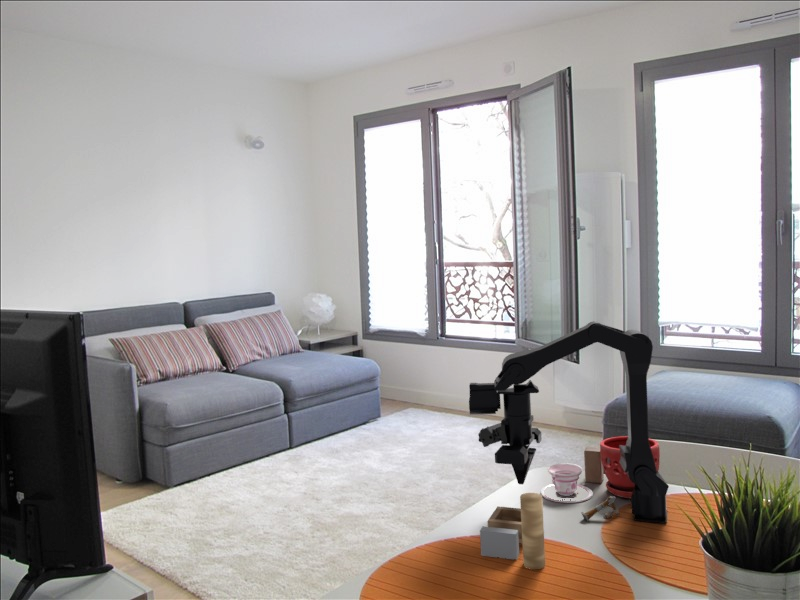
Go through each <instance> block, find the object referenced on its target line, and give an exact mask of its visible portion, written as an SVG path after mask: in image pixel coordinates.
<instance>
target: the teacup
mask: <svg viewBox="0 0 800 600" xmlns="http://www.w3.org/2000/svg"><path fill="white" fill-rule="evenodd" d="M547 472H548V473H549V475H551V478H552V484H549V485H546V486H544V487H542V488H541V490H540V495H542V498H544V499H545V500H548V501H552V502H556V503H563V504H564V503H565V504H572V503H573V504H574V503H576V504H577V503H581V502H585V501H588V500H590V499H591V498H592V497H593V495H594V492H593V491H592V489H590V488H589V487H587V486H584V485H582V484H578V480H579V479H580V476H581V474H582V473H583V467H582V466H580V465H579V464H576V463H567V462H563V463H556V464H552V465H550V466H549V467H548V468H547ZM551 486H554V489H555V490H556V491H558V492H557V493H558V494H559V496H562V495H563V496H562V497H571V496H573V495H574V494H575V493H576V492H575V491H577V489H578V487H581V488H583V489H585V490H586V491H587V492H588V493H589V494H588V496H587V497H586V498H584V499H582V500H577V501H576V500H575V501H571V499H570V501H563V499H562V501H561V500H560V501H559V500H554V499H551V498H549V497H547V496H546V495H545V493H544V490H545V489H546V488H547V487H551ZM577 486H578V487H577ZM570 495H571V496H570ZM564 500H565V499H564Z"/></svg>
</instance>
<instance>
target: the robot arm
mask: <svg viewBox="0 0 800 600" xmlns="http://www.w3.org/2000/svg"><path fill="white" fill-rule="evenodd" d="M595 343H599V344H602V345H604V346H607V347H610V348H612V349H615V350H618V351H619V354H620V359H621V361H622V365H623V366H622V367H623V369H624V372H625V385H626V386H625V387H626V391H625V392H626V410H627V411H626V412H627V413H626V415H627V417H626V418H627V436H628V439H627V443H626V446H624V445H619V448H620V453H621V458H620V461H619V463H620V464H621V466H622V468H623V470H624V471H625V473H626V474H627V475H628V477H629V479H630V480H631V482H633V483H634V484H635V486H634V492H632V494H631V498H630V501H631V503H630V504H631V515H633V520H634V521H635V522H637V521H638V522H647V523H649V522H650V523H660V524H667V521H668V510H667V493H668V490H669V487H670V486H669V485H668V483H667V482H666V480H665V479H664V477H663V476H662V475H661V473H660V471H657V470H656V466H655V462H654V457H653V454H652V451H651V447H650V444H649V439H650V438H649V411H648V408H649V407H648V385H647V384H648V382H647V380H648V379H647V377H648V372H649V369H650V366H651V363H652V355H653V349H654V346H653V342H652V340H651V339H650V337H648V336H647V335H646V334H644V333H643V332H641V331H639V330H637V329H628V330H626V331H625V330H622V329H618V328H616V327H612V326H609V325H607V324H606V325H605V324H602V323H601V322H599V321H595V320H592V321H590V322H588V323H586V325H584V326H581V327H580V328H577V329H576V330H573V331H572V332H568V333H566V334H564V335H562V336H560V337H557V338H556V339H554V340H552V341H550V342H548V343H545V344H542V345H541V346H539V347H534V348H530V349H525V350H521V351H517V352H514V353H513V352H512V353H510V354H508V355H506V356H504V358H503V361H502V363H501V371H500V372H499V373H498V375H497V377H495V379H494V382H482V383H479V382H470V383H469V399H468V409H469V416H471V415H472V416H473V415H475V416H476V415H496V414H497V412H499V410H501V407H502V406H501V395H502V397H503V398H502V399H503V415H504V417H503V418H502V419H501V421H500V422H499V423H497V424H493V425H490V426H487V427H485V428H484V427H482V428H481V429H480V430H479V432H478V435H477V436H478V442H479V443H482V446H483V448H487V447H490V445H493V444H496V443H499V442H500V444H502V445H501V446H500V447H499V448H498V449H497V450H496V452H494V462H495V463H496V464H499V465H500V464H502V465H511V467H512V469H513V472H514V474H515V475H514V476H515V478H516V482H517V484H518V485H524V483H525V482H526V478H527V476H528V473H529V470H530V468H531V465H532V463H533V460H534V456H535V454H536V452H537V448H535V447H530V446H531V444H532V442H533V441H534V440H535V442H536V444H540V443H541V442H542V438H543V437H542V431H541V430H540V429H539V428H538V427H532V422H533V421H534V415H532V407H531V406H532V404H531V394H538V393H540V390H539V387H538V386H537V385H535V383H534V382H533V381H532V380H531V379H530V378H532V377H534V376H535V375H536V374H537V373H539V372H540V371H541V370H542V369H543V368H545V367H547V366H548V365H550V364H552V363H555V362H557V361H558V360H561V359H564V358H565V357H568V356H569V355H572V354H573V353H575V352H578V351H580V350H582V349H585V348H587V347H588V346H591V345H593V344H595ZM526 381H528V382H526ZM525 382H526V383H525ZM512 386H513V387H512Z"/></svg>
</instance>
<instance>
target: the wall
mask: <svg viewBox="0 0 800 600" xmlns="http://www.w3.org/2000/svg"><path fill="white" fill-rule="evenodd" d="M479 536H480V542H479V543H480V556H482V557H489V558H490V557H492V558H497V557H499V558H498V559H505V558H506V559H507V560H514V559H516V561H517V560H518V559H519V557H520V544H519V537H518V530H513V529H504V528H494V527H488V526H482V527H481V528H480V530H479ZM518 556H519V557H518ZM517 558H518V559H517Z"/></svg>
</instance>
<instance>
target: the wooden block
mask: <svg viewBox="0 0 800 600" xmlns="http://www.w3.org/2000/svg"><path fill="white" fill-rule="evenodd" d="M583 456H584V457H583V458H584V459H583V460H584V481H585V482H586V483H594V484H596V483H597V484H602V483H603V479H604V477H605V476H604V474H605V472H604V469H603V465H602V461H601V453H600V446H586V447H585V449H584V450H583Z"/></svg>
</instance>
